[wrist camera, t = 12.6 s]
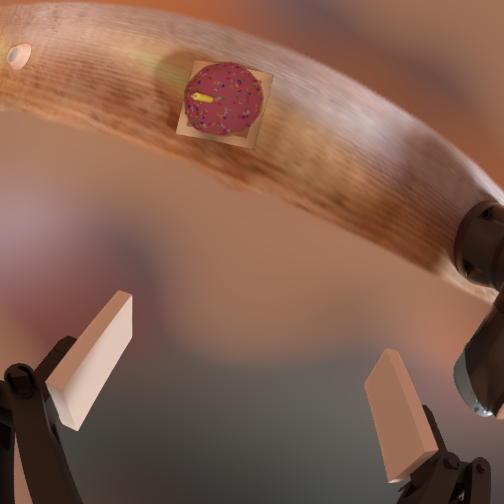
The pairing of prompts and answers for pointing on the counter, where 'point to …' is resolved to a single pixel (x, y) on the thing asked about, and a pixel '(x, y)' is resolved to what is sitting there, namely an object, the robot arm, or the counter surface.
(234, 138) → the square tray
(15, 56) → the lidless jar
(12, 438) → the robot arm
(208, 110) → the cupcake
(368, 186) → the counter surface
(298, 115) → the counter surface
